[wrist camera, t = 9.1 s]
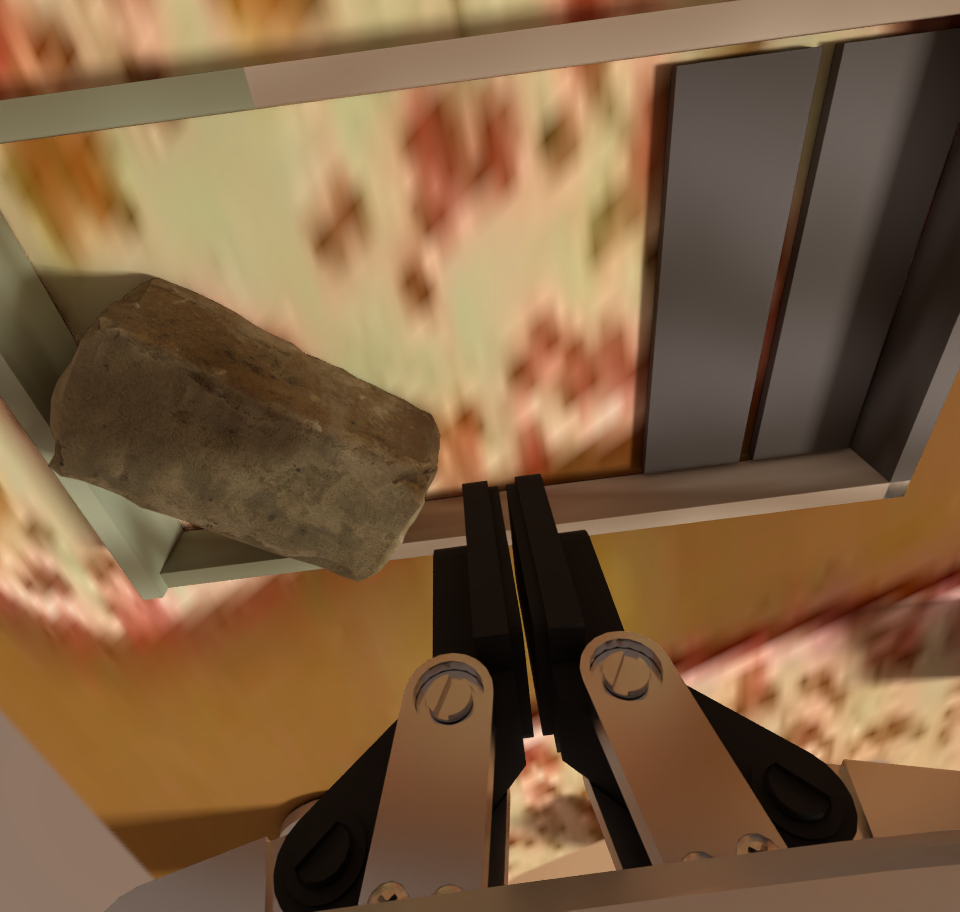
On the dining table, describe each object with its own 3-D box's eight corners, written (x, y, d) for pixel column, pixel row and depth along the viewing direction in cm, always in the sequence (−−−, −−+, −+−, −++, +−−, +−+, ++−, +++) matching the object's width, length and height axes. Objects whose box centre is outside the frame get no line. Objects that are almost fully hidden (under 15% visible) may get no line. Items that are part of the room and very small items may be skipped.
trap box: (862, 460, 23) (912, 504, 21) (174, 546, 24) (143, 599, 21) (1041, -34, 14) (1168, -61, 12) (-84, 118, 15) (-191, 124, 12)
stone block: (384, 510, 24) (372, 599, 19) (102, 394, 20) (12, 474, 16) (450, 410, 21) (452, 488, 17) (139, 254, 17) (42, 305, 13)
